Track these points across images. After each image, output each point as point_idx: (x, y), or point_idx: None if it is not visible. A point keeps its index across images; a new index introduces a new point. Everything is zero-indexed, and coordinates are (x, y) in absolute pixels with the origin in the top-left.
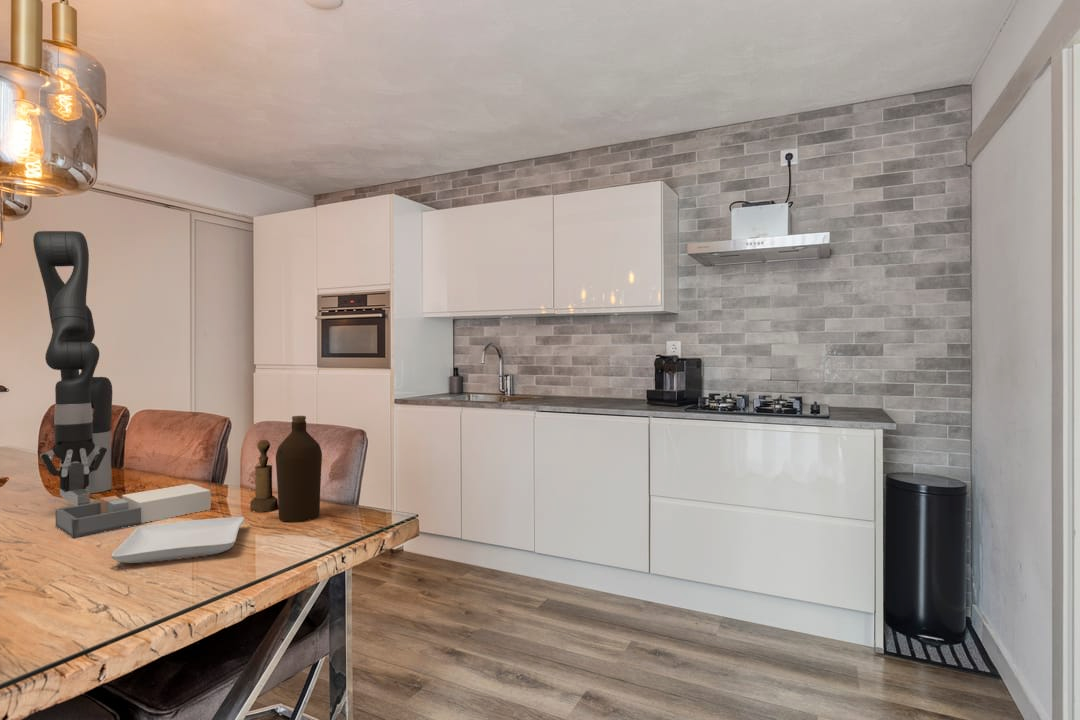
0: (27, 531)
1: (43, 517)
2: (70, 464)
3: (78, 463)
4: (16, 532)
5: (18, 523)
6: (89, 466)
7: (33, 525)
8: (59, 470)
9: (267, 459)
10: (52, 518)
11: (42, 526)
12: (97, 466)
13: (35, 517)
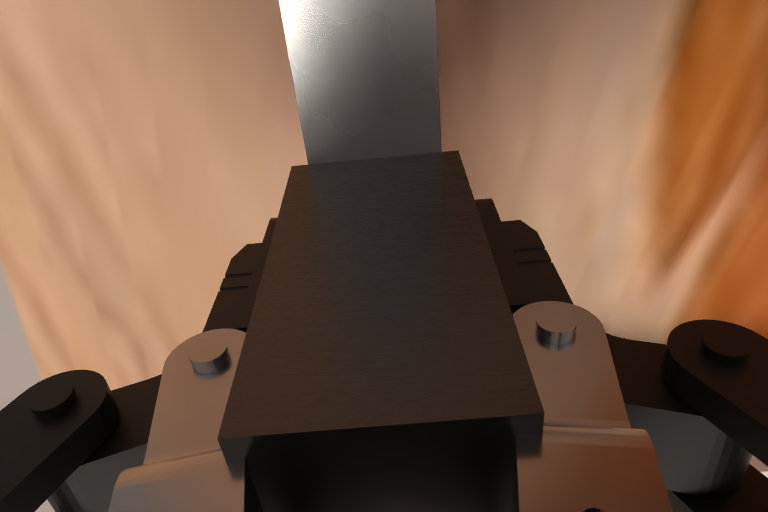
0: (126, 381)
1: (169, 69)
2: (334, 504)
3: (495, 490)
4: (73, 366)
5: (21, 147)
6: (660, 426)
7: (135, 274)
8: (159, 422)
9: None
10: (235, 159)
11: (189, 331)
12: (738, 500)
13: (106, 15)
